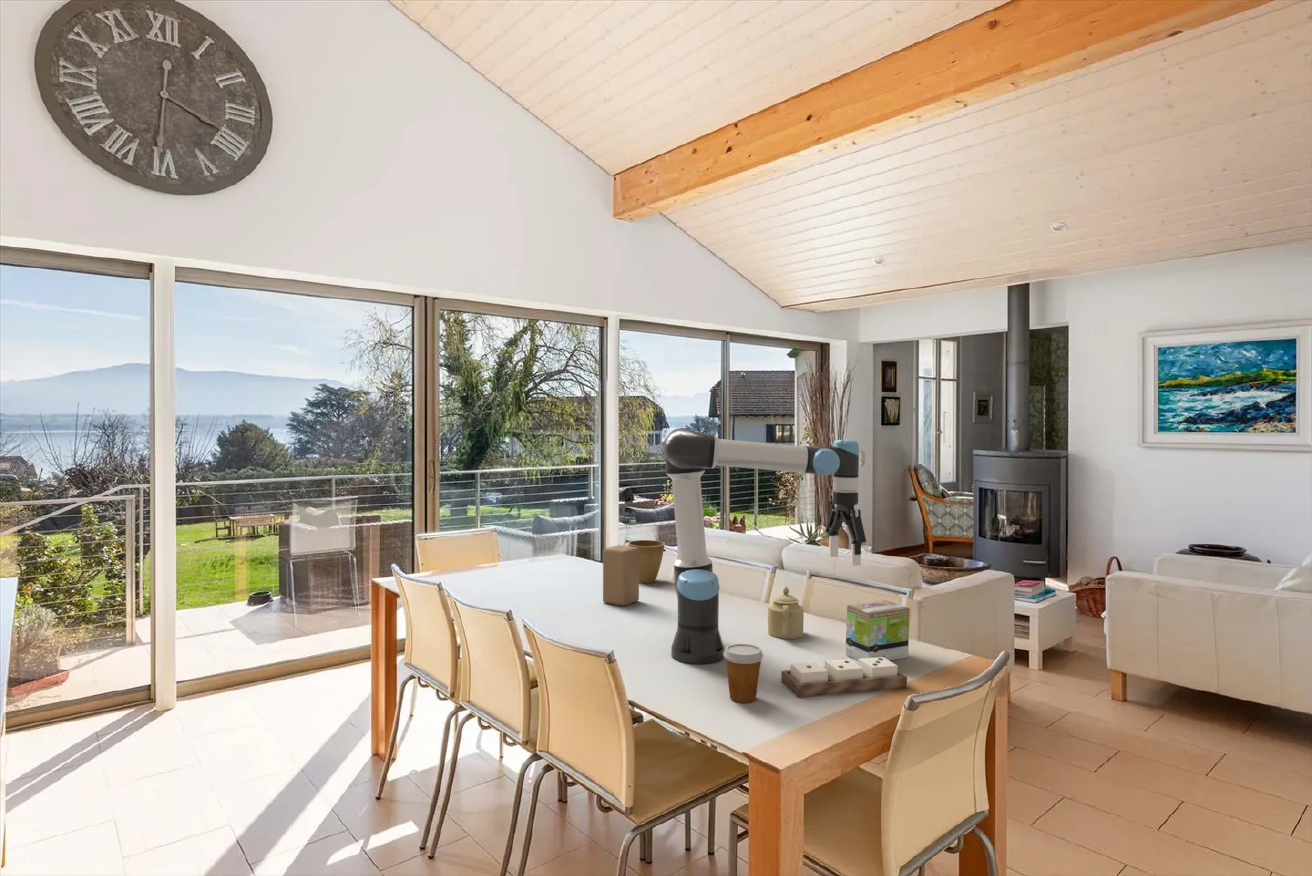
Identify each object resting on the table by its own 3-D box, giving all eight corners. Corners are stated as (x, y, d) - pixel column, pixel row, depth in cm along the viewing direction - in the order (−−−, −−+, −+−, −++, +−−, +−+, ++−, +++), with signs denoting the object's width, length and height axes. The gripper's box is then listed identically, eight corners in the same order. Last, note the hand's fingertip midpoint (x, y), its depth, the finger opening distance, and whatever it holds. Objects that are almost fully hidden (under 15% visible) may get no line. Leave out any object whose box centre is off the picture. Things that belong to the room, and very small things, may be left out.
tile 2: (837, 683, 185) (837, 669, 185) (824, 673, 192) (824, 660, 192) (862, 681, 187) (863, 667, 187) (849, 671, 194) (849, 658, 193)
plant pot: (624, 584, 300) (625, 545, 299) (632, 577, 314) (632, 539, 314) (661, 586, 297) (661, 546, 297) (666, 578, 312) (667, 540, 312)
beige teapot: (816, 641, 227) (816, 592, 226) (783, 644, 223) (783, 594, 223) (793, 627, 241) (793, 581, 240) (761, 630, 238) (762, 583, 237)
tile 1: (801, 685, 183) (801, 672, 183) (790, 676, 190) (790, 662, 190) (827, 683, 185) (828, 670, 185) (815, 674, 192) (815, 661, 191)
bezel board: (797, 697, 181) (797, 685, 181) (781, 682, 191) (781, 670, 191) (906, 688, 188) (907, 676, 187) (885, 674, 198) (885, 663, 198)
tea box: (869, 666, 204) (870, 612, 204) (844, 655, 213) (845, 604, 213) (909, 658, 211) (910, 606, 211) (883, 648, 220) (884, 598, 220)
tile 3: (871, 680, 187) (872, 666, 187) (858, 670, 194) (858, 658, 194) (897, 678, 189) (897, 665, 189) (882, 669, 196) (883, 656, 196)
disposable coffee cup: (766, 705, 176) (767, 655, 176) (726, 706, 175) (727, 655, 175) (757, 690, 186) (758, 642, 185) (720, 691, 185) (720, 643, 184)
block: (639, 601, 274) (640, 547, 273) (624, 607, 265) (624, 551, 265) (617, 597, 279) (618, 544, 278) (601, 603, 271) (602, 548, 270)
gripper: (879, 495, 214) (877, 568, 214) (836, 486, 238) (835, 553, 238) (855, 495, 212) (854, 569, 212) (815, 487, 236) (814, 553, 237)
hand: (844, 561), depth 225 cm, fingers open, 13 cm apart
